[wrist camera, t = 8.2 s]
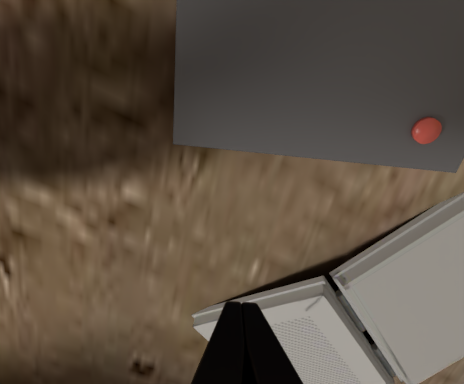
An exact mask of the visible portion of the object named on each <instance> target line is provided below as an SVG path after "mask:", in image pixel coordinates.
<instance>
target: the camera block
mask: <svg viewBox="0 0 464 384" xmlns="http://www.w3.org/2000/svg"><path fill="white" fill-rule="evenodd" d="M173 144H177V145H187V146H197V147H206V148H216V149H226V150H236V151H246V152H256V153H265V154H275V155H285V156H295V157H305V158H315V159H325V160H334V161H344V162H354V163H364V164H374V165H384V166H393V167H403V168H413V169H423V170H433V171H443V172H452V173H456V172H457V170H458V168H459V166H460V164H461V162H462V160H463V158H464V0H177V11H176V49H175V87H174V125H173Z"/></svg>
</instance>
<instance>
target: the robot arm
mask: <svg viewBox="0 0 464 384" xmlns="http://www.w3.org/2000/svg"><path fill="white" fill-rule="evenodd" d="M191 384H303V382H302V380H301V379H300V377H299V375H298V373H297V372H296V370H295V368H294V366H293V365H292V363H291V361H290V359H289V358H288V356H287V354H286V352H285V351H284V349H283V347H282V346H281V344H280V342H279V340H278V339H277V337H276V335H275V333H274V332H273V330H272V328H271V326H270V325H269V323H268V321H267V320H266V318H265V316H264V314H263V313H262V311H261V309H260V307H259V306H258V304H257V303H254V302H242V304H241V303H240V302H239V301H226V302H225V304H224V307H223V309H222V312H221V314H220V316H219V319H218V321H217V323H216V326H215V328H214V330H213V333H212V335H211V337H210V340H209V342H208V344H207V347H206V349H205V351H204V354H203V356H202V358H201V361H200V363H199V366H198V368H197V370H196V373H195V375H194V377H193V380H192V382H191Z"/></svg>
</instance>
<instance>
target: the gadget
mask: <svg viewBox="0 0 464 384" xmlns="http://www.w3.org/2000/svg"><path fill="white" fill-rule="evenodd" d="M329 274H330V275H331V277H332V278H333V280H334V281H335V283H336V284H337V286H338V287H339V289H340V290H338V291H336V292H334V290H333V289H332V287H331V286H330V284H329V283H328V281H327V280H326V278H325V277H324V276H320V277H316V278H312V279H309V280H305V281H301V282H298V283H294V284H290V285H286V286H283V287H279V288H275V289H272V290H268V291H264V292H260V293H257V294H253V295H249V296H246V297H242V298H238V299H234V300H231V301H239V302H240V303H241V304H242V302H254V303H257V304H258V306H259V307H260V309H261V311H262V313H263V314H264V316H265V318H266V320H267V321H268V323H269V325H270V326H271V328H272V330H273V332H274V333H275V335H276V337H277V339H278V340H279V342H280V344H281V346H282V347H283V349H284V351H285V352H286V354H287V356H288V358H289V359H290V361H291V363H292V365H293V366H294V368H295V370H296V372H297V373H298V375H299V377H300V379H301V380H302V382H303V384H395V383H394V379H393V377H395V376H396V375H397V377H398V378H399V380H400V381H401V382H403V381H404V382H405V383H406V384H419V383H421V382H422V381H424V380H426V379H427V378H429V377H431V376H433V375H434V374H436V373H438V372H439V371H441V370H443V369H444V368H446V367H448V366H450V365H451V364H453V363H455V362H456V361H458V360H460V359H461V358H463V357H464V192H463V193H461V194H459V195H456V196H454V197H452V198H450V199H447V200H445V201H443V202H441V203H439V204H437V205H435V206H434V207H432V208H430V209H429V210H427V211H426V212H424V213H423V214H421V215H419V216H418V217H416V218H415V219H413V220H411V221H410V222H408V223H407V224H405V225H404V226H402V227H400V228H399V229H397V230H396V231H394V232H393V233H391V234H389V235H388V236H386V237H385V238H383V239H382V240H380V241H378V242H377V243H375V244H374V245H372V246H371V247H369V248H367V249H366V250H364V251H363V252H361V253H360V254H358V255H356V256H355V257H353V258H352V259H350V260H349V261H347V262H345V263H344V264H342V265H341V266H339V267H338V268H336V269H334V270H333V271H331V272H330V273H329ZM224 304H225V302H223V303H220V304H216V305H212V306H210V307H208V308H205V309H203V310H201V311H199V312H196V313H194V314H192V316H193V317H194V318H195V320H194V324H193V327H194V328H195V329H196V330H197V331H198V332H199V333H200V334H201V335H202V336H203V337H204V338H206V339H207V340H208V341H209V340H210V337H211V335H212V333H213V330H214V328H215V326H216V323H217V321H218V319H219V316H220V314H221V312H222V309H223V307H224ZM365 330H367V331H368V333H369V334H370V336H371V337H372V339H373V340H374V342H375V343H376V344H375V343H374V344H372V345H370V343H369V342H368V340H367V339H366V337H365V336H364V334H363V333H362V332H364V331H365Z"/></svg>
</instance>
